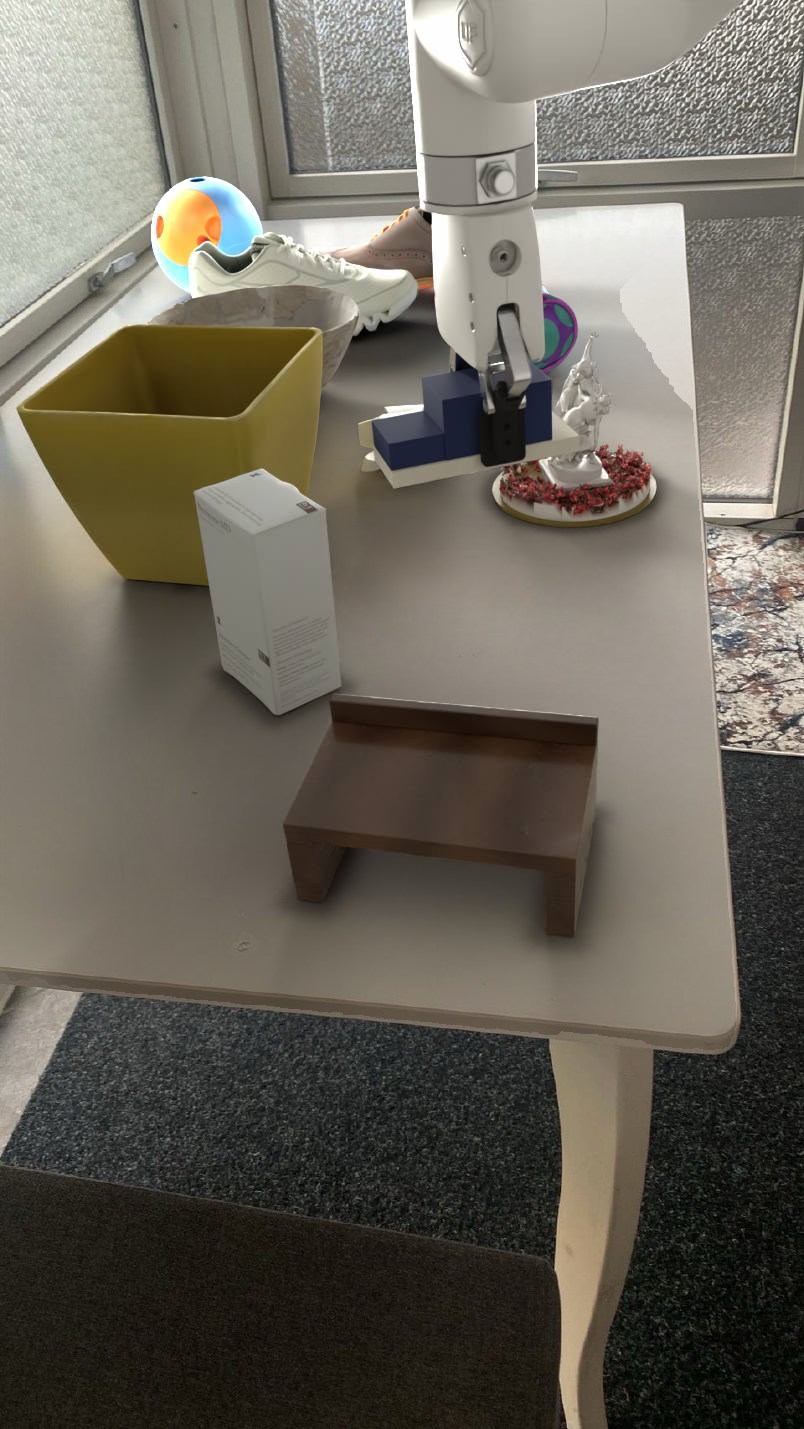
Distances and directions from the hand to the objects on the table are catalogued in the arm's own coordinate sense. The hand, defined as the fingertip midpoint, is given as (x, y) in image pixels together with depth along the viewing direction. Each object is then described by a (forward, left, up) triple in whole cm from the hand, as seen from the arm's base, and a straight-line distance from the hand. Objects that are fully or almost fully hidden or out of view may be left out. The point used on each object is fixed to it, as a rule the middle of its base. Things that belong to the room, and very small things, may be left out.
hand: (488, 444), depth 81 cm
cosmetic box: (+13, +13, -13) cm, 23 cm away
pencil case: (+7, -56, -13) cm, 58 cm away
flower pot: (+26, -5, -13) cm, 30 cm away
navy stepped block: (+1, +1, -1) cm, 1 cm away
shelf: (-3, +29, -13) cm, 32 cm away
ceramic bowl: (+33, -38, -13) cm, 52 cm away
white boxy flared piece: (+13, -24, -13) cm, 30 cm away
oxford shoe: (+27, -79, -13) cm, 84 cm away
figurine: (-4, -20, -13) cm, 24 cm away
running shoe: (+36, -62, -13) cm, 73 cm away
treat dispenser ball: (+55, -78, -13) cm, 96 cm away
